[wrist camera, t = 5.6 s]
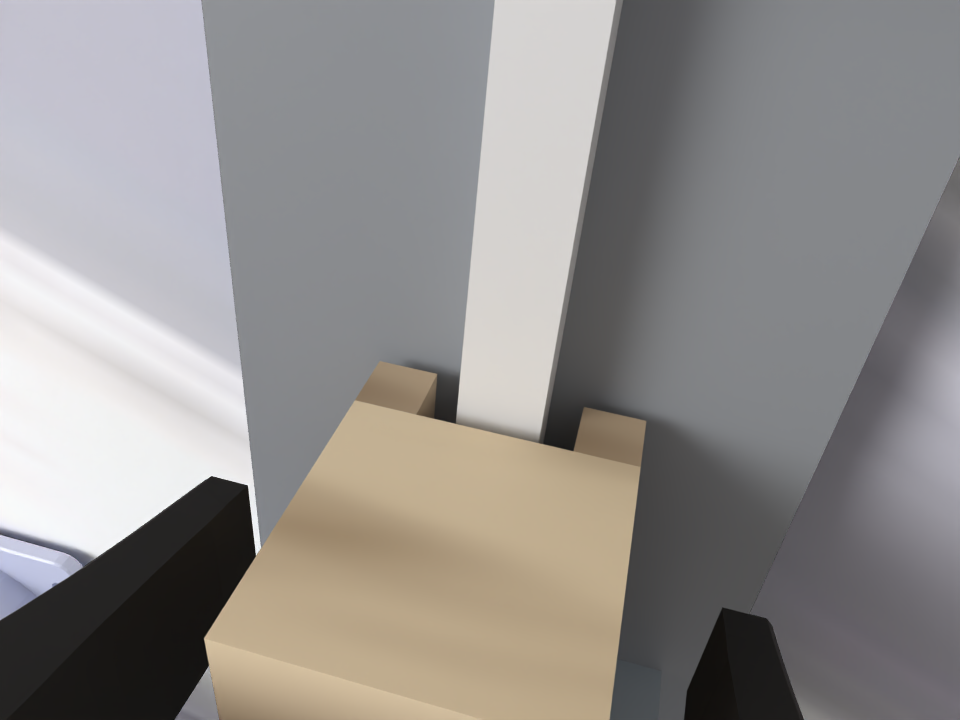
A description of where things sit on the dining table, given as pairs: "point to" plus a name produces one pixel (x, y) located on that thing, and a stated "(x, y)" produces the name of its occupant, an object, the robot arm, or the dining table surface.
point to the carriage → (437, 573)
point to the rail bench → (585, 245)
